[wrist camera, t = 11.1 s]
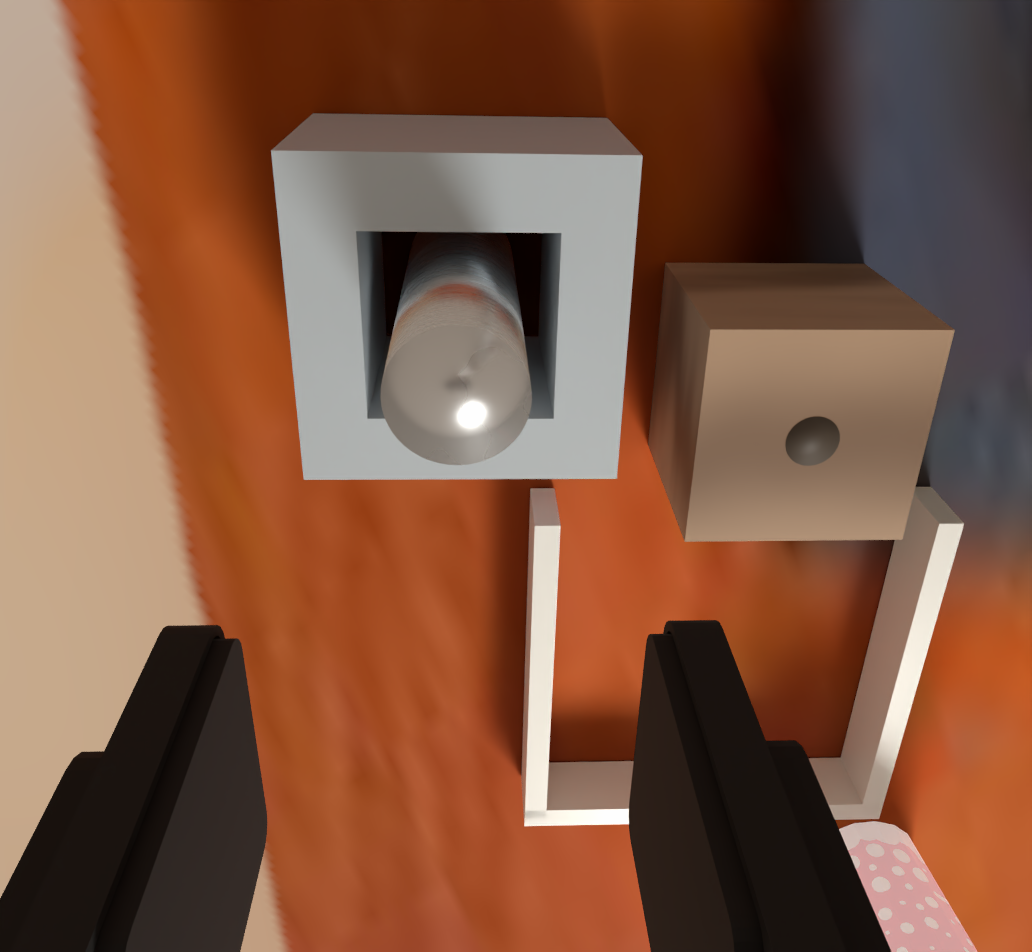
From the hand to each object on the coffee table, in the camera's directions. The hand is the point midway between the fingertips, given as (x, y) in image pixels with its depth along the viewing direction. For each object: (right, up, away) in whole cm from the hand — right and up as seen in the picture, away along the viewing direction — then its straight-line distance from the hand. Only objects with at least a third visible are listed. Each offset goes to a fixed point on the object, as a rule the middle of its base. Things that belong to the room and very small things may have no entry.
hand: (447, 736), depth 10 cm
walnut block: (+8, +7, +19) cm, 22 cm away
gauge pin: (-1, +9, +17) cm, 19 cm away
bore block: (-1, +9, +17) cm, 19 cm away
